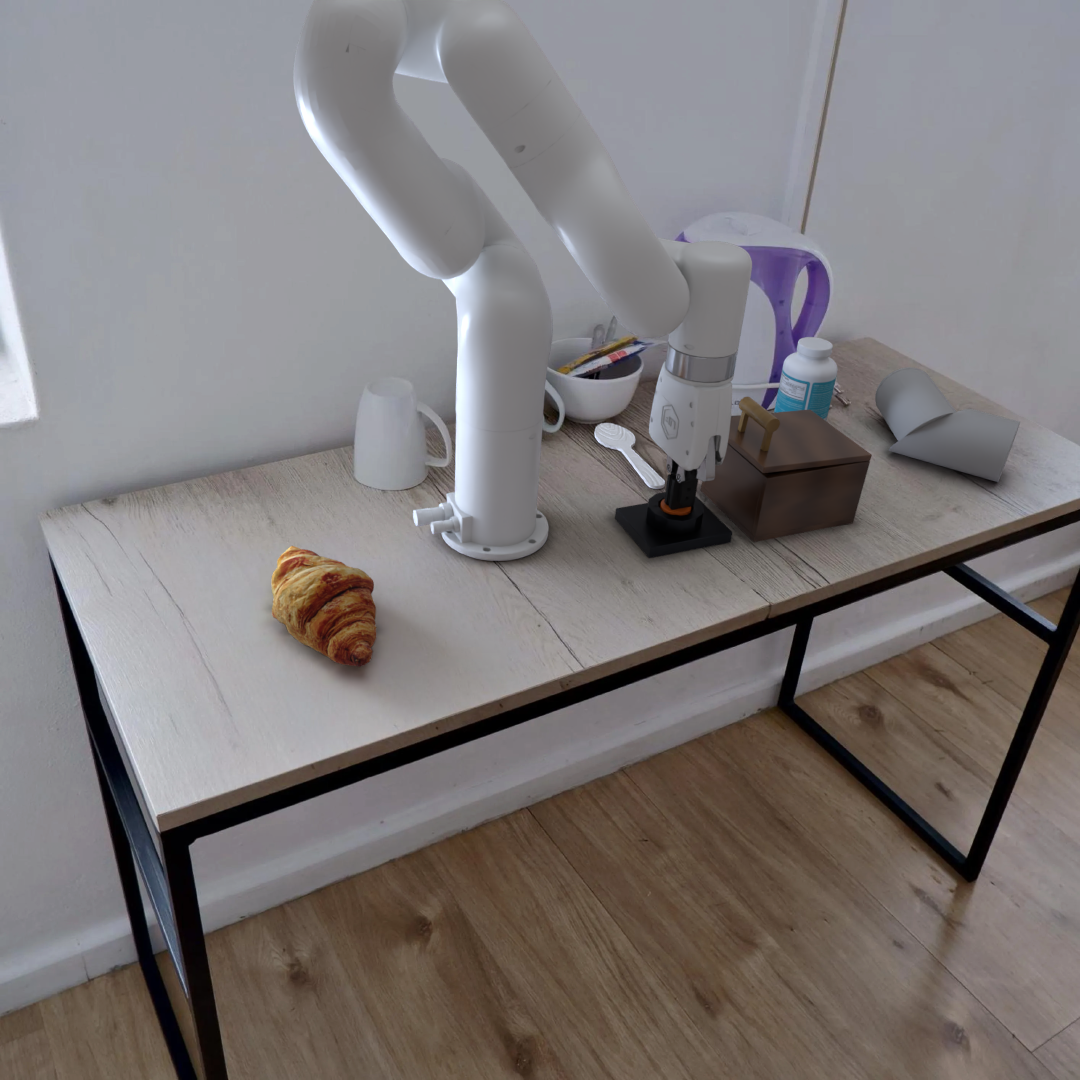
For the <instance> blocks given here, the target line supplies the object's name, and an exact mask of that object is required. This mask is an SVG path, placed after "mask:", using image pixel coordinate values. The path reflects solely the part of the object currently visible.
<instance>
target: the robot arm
mask: <svg viewBox="0 0 1080 1080" xmlns="http://www.w3.org/2000/svg"><path fill="white" fill-rule="evenodd" d="M306 14H307V15H306V17H305V19H304V22H303V25H302V28H301V30H300V34H299V37H298V42H297V45H296V50H295V54H294V60H293V68H292V70H293V72H292V81H293V92H294V97H295V98H294V99H295V103H296V106H297V110H298V113H299V116H300V119H301V121H302V123H303V125H304V128H305V130H306V131H307V134H308V135H309V137H310V138H311V140H312V142H313V143H314V145H315V146H316V148H317V150H319V152H320V154H321V155H322V156H323V157H324V159H325V160H326V161H327V163H328V164H329V165H330V166H331V167H332V169H333V170H334V171H335V173H336V174H337V175H338V176H339V178H340V179H341V181H342V182H343V183H344V184H345V185H346V186H347V188H348V189H349V191H350V192H351V193H352V194H353V196H354V197H355V198H356V200H357V202H358V203H359V204H360V205H361V207H363V209H364V210H365V211H366V212H367V215H369V217H370V218H371V219H372V220H373V221H374V222H375V224H376V225H377V226H378V227H379V229H380V230H381V231H382V232H383V234H385V236H386V237H387V238H388V240H389V242H390V243H391V244H392V245H393V247H394V248H395V249H396V251H397V252H398V254H399V255H400V257H401V258H402V259H403V260H404V261H405V262H406V263H407V264H408V265H409V266H410V267H411V268H413V269H414V270H415V271H417V272H418V273H419V274H422V275H423V276H426V277H428V278H432V279H435V280H441V281H442V282H443V284H444V285H445V286H446V288H448V290H449V291H450V292H451V293H452V295H453V296H454V298H455V306H456V307H455V308H456V320H457V321H456V322H457V357H456V377H455V378H456V379H455V380H456V381H455V383H456V384H455V385H456V386H455V458H454V459H455V463H454V464H455V465H454V467H455V468H454V491H453V492H448V493H446V502H440V503H439V504H438V506H435V507H425V508H419V509H413V511H412V517H413V522H414V525H415V526H416V527H421V526H422V527H423V526H428V525H429V526H430V527H429V528H430V532H431V534H432V535H435V534H440V535H441V537H442V539H443V541H444V542H445V544H447V545H448V546H449V547H450V548H451V549H452V550H454V551H456V552H458V553H460V554H462V555H463V556H467V557H470V558H473V559H476V560H481V561H488V562H489V561H490V562H492V561H493V562H502V561H504V562H505V561H512V560H519V559H523V558H525V557H528V556H530V555H532V554H534V553H536V552H537V551H539V550H541V548H542V547H543V546H544V545H545V543H546V542H547V540H548V537H549V529H550V527H549V522H548V520H547V517H546V516H545V515H544V514H543V512H541V511H540V509H538V496H539V482H540V470H541V469H540V467H541V456H542V455H541V454H542V453H541V452H542V441H543V440H542V439H543V426H544V425H543V424H544V406H545V392H546V383H547V375H548V374H547V373H548V367H549V362H550V361H549V360H550V355H551V350H552V342H553V335H554V333H553V332H554V322H553V321H554V320H553V312H552V311H553V310H552V306H551V302H550V298H549V295H548V291H547V289H546V286H545V284H544V281H543V279H542V276H541V272H540V270H539V267H538V265H537V263H536V261H535V259H534V257H533V256H532V255H531V253H530V252H529V250H528V248H527V247H526V246H525V245H524V243H523V242H522V241H521V239H520V238H519V237H518V235H517V234H516V232H515V231H514V230H513V228H512V227H511V226H510V224H509V223H508V221H507V220H506V219H505V218H504V216H503V215H502V213H501V212H500V210H499V209H498V208H497V207H496V205H495V204H494V203H493V201H492V199H491V198H490V197H489V196H488V195H487V193H486V192H485V190H484V189H483V187H482V186H481V185H480V184H479V183H478V181H477V180H476V179H475V178H474V176H473V175H472V174H471V173H470V172H469V171H468V170H467V169H465V167H463V166H462V165H460V164H459V163H457V162H455V161H453V160H451V159H448V158H445V157H440V156H439V155H438V154H437V153H436V151H435V150H434V149H433V147H432V146H431V145H430V143H429V142H428V140H426V138H425V136H424V134H423V133H422V132H421V130H420V129H419V127H418V126H417V125H416V123H415V122H414V121H413V120H412V119H411V118H410V116H409V115H408V114H407V112H405V110H404V109H403V108H402V106H401V105H400V103H399V101H398V100H397V98H396V95H395V91H394V85H393V83H394V81H393V80H394V75H395V74H398V75H401V76H406V77H412V78H417V79H420V80H426V81H431V82H436V83H442V84H448V85H449V86H450V88H451V90H452V91H453V93H454V94H455V95H456V97H457V98H458V100H459V101H460V103H461V104H462V106H463V107H464V108H465V110H466V111H467V113H468V114H469V115H470V117H471V118H472V119H473V121H474V123H475V124H476V125H477V126H478V128H479V129H480V130H481V132H482V133H483V135H484V136H485V137H486V138H487V140H488V141H489V142H490V144H491V145H492V146H493V148H494V149H495V151H496V152H497V154H498V155H499V156H500V158H501V159H502V160H503V162H504V163H505V164H506V167H507V169H508V170H509V171H510V172H511V174H512V175H513V176H514V178H515V179H516V181H517V182H518V184H519V185H520V187H521V188H522V190H523V191H524V193H526V195H527V196H528V198H529V199H530V201H531V202H532V204H533V205H534V207H535V209H536V210H537V212H538V214H540V216H541V217H542V219H544V221H545V222H546V224H547V225H548V226H549V227H550V228H551V230H552V231H554V234H555V235H556V236H557V237H558V238H559V240H560V241H561V243H562V245H564V247H565V248H566V249H567V251H568V252H569V254H570V255H571V257H572V259H573V260H574V261H575V263H576V265H577V266H578V267H579V268H580V270H581V272H582V273H583V274H584V276H585V277H586V279H587V280H588V281H589V283H590V284H591V285H592V287H593V288H594V290H595V291H596V292H597V294H598V295H599V297H600V298H601V300H602V301H603V302H604V304H605V305H606V307H607V308H608V310H609V311H610V312H611V314H612V316H614V317H615V319H616V321H617V322H618V323H619V324H620V325H621V327H623V328H624V329H625V330H626V331H627V332H628V333H630V334H632V335H634V336H636V337H638V338H643V339H658V338H661V337H665V336H667V335H668V339H667V347H666V354H665V359H664V361H663V363H662V366H661V368H660V372H659V375H658V378H657V382H656V386H655V390H654V396H653V399H652V405H651V411H650V418H649V426H648V433H649V436H650V438H651V439H652V441H653V442H654V443H655V444H656V445H657V446H658V447H659V448H660V449H661V450H662V451H663V452H664V453H665V454H666V471H667V473H668V474H667V478H666V479H667V480H666V485H665V492H666V493H665V500H664V502H665V503H666V505H669V508H670V509H671V510H675V509H681V508H686V507H692V506H693V505H694V503H695V497H697V491H698V490H697V489H698V484H699V481H701V482H702V481H703V482H707V481H712V480H714V479H715V465H718V466H719V465H721V464H722V462H723V460H724V457H725V454H726V450H727V445H728V438H729V431H730V421H731V417H732V406H733V383H732V381H733V379H734V378H735V377H734V376H735V370H736V366H737V360H738V354H739V347H740V343H741V335H742V330H743V326H744V325H743V324H744V317H745V313H746V306H747V301H748V295H749V289H750V282H751V278H752V269H753V261H752V258H751V255H750V253H749V252H748V251H747V250H746V249H745V248H743V247H742V246H739V245H736V244H733V243H730V242H726V241H720V240H701V241H694V242H687V241H680V240H673V239H668V238H662V237H658V236H657V234H656V233H655V232H654V230H653V228H652V226H650V224H649V222H648V221H647V219H646V217H645V216H644V214H643V213H642V212H641V210H640V208H639V206H638V205H637V203H636V201H635V199H634V198H633V197H632V195H631V193H630V191H629V190H628V188H627V186H626V184H625V183H624V181H623V179H622V176H621V175H620V173H619V171H618V169H617V167H616V165H615V162H614V161H613V159H612V157H611V155H610V153H609V152H608V150H607V149H606V147H605V145H604V143H603V141H602V140H601V138H600V136H599V135H598V133H597V132H596V131H595V129H594V127H593V126H592V125H591V123H590V121H589V120H588V118H587V117H586V116H585V114H584V112H583V111H582V109H581V108H580V106H579V105H578V103H577V102H576V100H575V99H574V97H573V96H572V94H571V92H570V91H569V90H568V88H567V87H566V85H565V84H564V81H563V80H562V79H561V77H560V76H559V74H558V72H557V71H556V70H555V68H554V67H553V65H552V62H550V60H549V58H548V57H547V56H546V53H544V51H543V49H542V47H540V45H539V44H538V42H537V40H536V39H535V37H534V36H533V34H532V33H531V31H530V29H529V28H528V27H527V25H526V24H525V22H524V21H523V20H522V18H521V17H520V16H519V14H518V13H517V11H516V10H515V9H514V8H513V7H512V6H511V5H510V4H508V2H506V1H504V0H312V3H311V4H310V7H309V9H308V11H307V13H306Z"/></svg>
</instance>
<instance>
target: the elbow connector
mask: <svg viewBox="0 0 1080 1080" xmlns="http://www.w3.org/2000/svg"><path fill="white" fill-rule="evenodd" d="M874 395H875V396H874V397H875V398H874V401H875V405H876V408H877V410H878V411H879V413H880V414H881V416H882V417H883V419H884V421H885V422H886V424H887V426H888V427H889V429H890V430H891V433H893V435H894V437H895V438H896V440H897V441H896V442H895V443H894V444H892V445H891V446H890V447H889V448H888V451H889V452H891V453H895V454H897V455H898V454H899V455H900V456H901V455H902V456H906V457H909V458H913V459H916V460H918V461H923V462H926V463H929V464H933V465H937V466H940V467H944V468H947V469H950V470H954V471H957V472H961V473H964V474H968V475H971V476H975V477H979V478H981V479H984V480H985V479H986V480H989V481H992V482H996V483H999V481H1000V478H1001V477H1002V475H1003V471H1004V469H1005V466H1006V463H1007V462H1008V458H1009V455H1010V452H1011V450H1012V447H1013V445H1014V442H1015V440H1016V436H1017V433H1018V430H1019V428H1020V424H1021V421H1019V420H1015V419H1011V418H1008V417H1004V416H1000V415H996V414H992V413H989V412H985V411H981V410H978V409H974V408H964V409H961V410H958V411H956V409H955V407H954V406H953V405H952V403H951V402H950V401H949V400H948V399H947V397H946V395H944V393H943V392H942V391H941V389H940V388H939V387H938V385H937V384H936V383H935V382H934V381H933V378H932V377H931V376H930V375H929V373H927V372H926V371H925V370H924V369H921V368H918V367H915V366H914V367H913V366H907V367H901V368H898V369H895V370H893V371H892V372H889V374H887V375H886V376H885V377H884V378H882V380H881V381H880V382H879V384H878V386H877V388H876V390H875V394H874Z"/></svg>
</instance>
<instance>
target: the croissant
mask: <svg viewBox="0 0 1080 1080" xmlns="http://www.w3.org/2000/svg"><path fill="white" fill-rule="evenodd" d="M272 572H273V573H272V576H271V581H270V582H271V583H270V584H271V585H270V587H271V594H272V596H273V597H272V598H273V600H272V607H271V616H272V618H274V619H276V620H277V621H278V622H279V623H281V624H282V625H284V626H285V627H286V630H287V632H288V633H289V634H290V635H291V636H292V637H293V638H294V639H295V640H297V641H298V642H299V643H301V644H302V645H304V646H307V647H309V648H311V649H312V650H314V651H316V652H319V653H320V654H322V655H324V656H325V657H327V658H328V659H330V660H331V661H332V662H334V663H336V664H339V665H343V666H352V667H358V668H360V667H363V666H365V665H366V664H368V663H370V662H371V660H372V657H373V653H374V651H373V649H372V647H373V646H374V644H375V643H376V640H377V626H376V625H377V623H376V615H377V606H376V603H375V601H374V598H373V596H372V594H373V592H374V587H375V582H374V580H373V578H372V577H370V576H369V574H368V573H366V572H365V571H364V570H363V569H361V568H359V567H353V566H349V565H346V564H345V563H343V562H342V561H339V560H337V559H333V558H330V557H326V556H322V555H319V554H318V553H317V552H315V551H312V550H309V549H304V548H299V547H297V546H295V545H291V546H289V547H288V548H287V549H286V550H285V551H283V552H282V553H281V554H280V556H279V557H278V559H277V561H276V568H275V570H274V571H272Z"/></svg>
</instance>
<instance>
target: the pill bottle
mask: <svg viewBox="0 0 1080 1080" xmlns="http://www.w3.org/2000/svg"><path fill="white" fill-rule="evenodd" d="M833 347H834V345H833V343H832V342H830V341H829V340H827V339H825V338H821V337H816V336H815V337H814V336H806V337H805V336H804V337H802V338H800V339H799V340H798V342H797V346H796V351H795V352H792V353H790V354H789V355H788V356H787V357H786V358H785V359H784V361H783V365H782V370H781V374H780V378H779V379H780V380H779V384H778V390H777V395H776V400H775V405H774V410H773V413H776V412H787V411H798V410H809V409H810V410H812V411H813V412H814V413H816V414H817V415H818V416H820V417H821V418H822V419H824V420H825V421H827V420H828V415H829V411H830V408H831V403H832V398H833V394H834V389H835V384H836V380H837V377H838V376H837V375H838V368H839V367H838V365H837V362H836V361H835V360H834V359H833V358H832V357H831V355H832V354H833Z"/></svg>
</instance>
